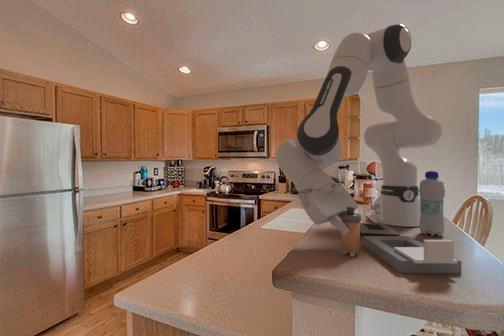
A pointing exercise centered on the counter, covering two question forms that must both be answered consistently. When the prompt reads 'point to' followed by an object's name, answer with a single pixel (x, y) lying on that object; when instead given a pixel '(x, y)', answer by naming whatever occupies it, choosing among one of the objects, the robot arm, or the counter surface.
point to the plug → (351, 232)
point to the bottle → (431, 204)
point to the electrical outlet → (377, 230)
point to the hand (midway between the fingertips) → (353, 230)
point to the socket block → (386, 252)
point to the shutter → (430, 252)
